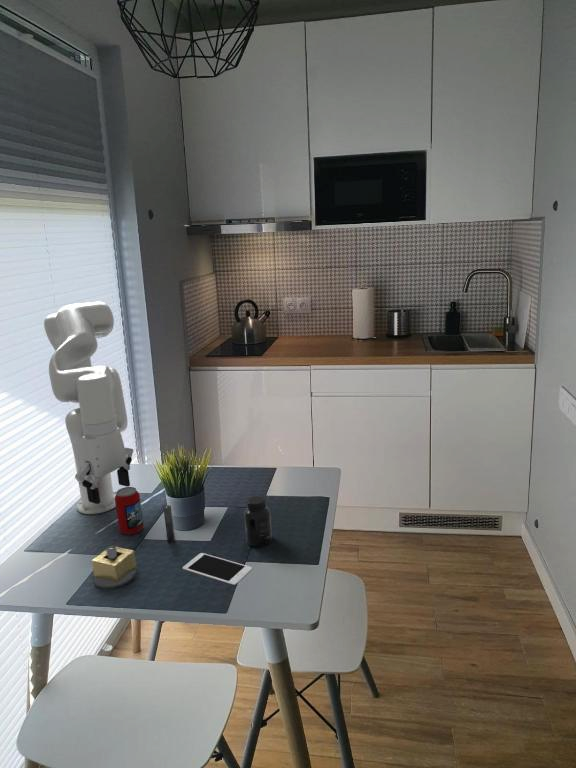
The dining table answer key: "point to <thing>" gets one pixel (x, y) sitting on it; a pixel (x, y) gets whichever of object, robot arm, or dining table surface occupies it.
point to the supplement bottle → (257, 522)
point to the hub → (110, 584)
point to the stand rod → (169, 523)
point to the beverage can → (129, 510)
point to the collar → (114, 565)
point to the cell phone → (217, 568)
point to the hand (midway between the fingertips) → (110, 493)
